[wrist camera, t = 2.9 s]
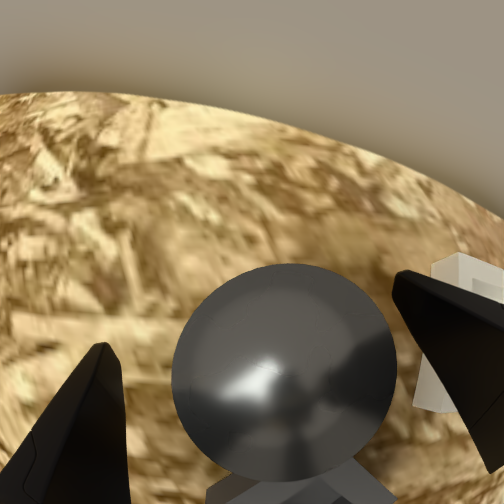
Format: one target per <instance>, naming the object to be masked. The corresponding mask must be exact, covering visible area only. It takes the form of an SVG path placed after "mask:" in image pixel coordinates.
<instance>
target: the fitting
mask: <svg viewBox="0 0 504 504" xmlns="http://www.w3.org/2000/svg"><path fill="white" fill-rule="evenodd" d="M396 378H397V359H396V350H395V345H394V341H393V337H392V334H391V332H390V329H389V326H388V324H387V322H386V320H385V318H384V316H383V314H382V313H381V311H380V310H379V309H378V307H377V306H376V304H375V303H374V302H373V301H372V300H371V298H370V297H369V296H368V295H367V294H366V293H365V292H364V291H363V290H361V289H360V288H359V287H358V286H357V285H355V284H354V283H352V282H351V281H349V280H348V279H346V278H344V277H343V276H341V275H338V274H336V273H334V272H332V271H330V270H326V269H323V268H320V267H317V266H311V265H305V264H289V263H287V264H276V265H269V266H265V267H260V268H256V269H254V270H251V271H248V272H245V273H243V274H241V275H239V276H237V277H235V278H233V279H231V280H229V281H227V282H226V283H225V284H223V285H222V286H220V287H219V288H217V289H216V290H215V291H214V292H213V293H211V294H210V295H209V296H208V297H207V298H206V299H205V300H204V301H203V302H202V303H201V304H200V305H199V307H198V308H197V309H196V310H195V311H194V313H193V314H192V316H191V317H190V319H189V320H188V322H187V323H186V325H185V327H184V329H183V331H182V333H181V336H180V338H179V340H178V343H177V347H176V350H175V353H174V358H173V364H172V383H171V385H172V393H173V400H174V403H175V407H176V410H177V414H178V416H179V418H180V421H181V423H182V425H183V427H184V429H185V431H186V432H187V434H188V435H189V437H190V438H191V440H192V441H193V442H194V443H195V445H196V446H197V447H198V448H199V449H200V450H201V451H202V452H203V453H204V454H205V455H206V456H207V457H209V458H210V459H211V460H212V461H214V462H215V463H217V464H218V465H220V466H221V467H223V468H224V469H226V470H228V471H231V472H233V473H235V474H237V475H240V476H243V477H246V478H250V479H253V480H259V481H265V482H293V481H299V480H304V479H309V478H312V477H315V476H318V475H321V474H324V473H326V472H328V471H330V470H332V469H334V468H336V467H338V466H340V465H341V464H343V463H344V462H346V461H347V460H349V459H350V458H352V457H353V456H354V455H355V454H356V453H358V452H359V451H360V450H361V449H362V448H363V447H364V446H365V445H366V444H367V443H368V442H369V441H370V439H371V438H372V437H373V435H374V434H375V433H376V431H377V430H378V429H379V427H380V425H381V423H382V422H383V420H384V418H385V416H386V414H387V412H388V409H389V407H390V405H391V401H392V398H393V394H394V391H395V384H396Z"/></svg>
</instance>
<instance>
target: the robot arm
mask: <svg viewBox="0 0 504 504" xmlns="http://www.w3.org/2000/svg"><path fill="white" fill-rule="evenodd" d="M392 299H393V301H394V303H395V305H396V307H397V308H398V310H399V312H400V314H401V316H402V318H403V319H404V321H405V323H406V325H407V327H408V329H409V331H410V333H411V334H412V336H413V338H414V339H415V341H416V343H417V344H418V346H419V347H420V349H421V350H422V352H423V353H424V355H425V357H426V358H427V360H428V361H429V363H430V365H431V366H432V368H433V369H434V371H435V373H436V374H437V376H438V378H439V379H440V381H441V383H442V384H443V386H444V388H445V390H446V391H447V393H448V395H449V396H450V398H451V400H452V402H453V403H454V405H455V407H456V409H457V411H458V412H459V414H460V416H461V418H462V420H463V422H464V424H465V425H466V427H467V429H468V431H469V433H470V435H471V437H472V439H473V441H474V443H475V445H476V447H477V449H478V451H479V454H480V456H481V458H482V460H483V462H484V464H485V466H486V469H487V471H488V472H489V474H492V473H493V472H495V471H496V470H498V469H499V468H501V467H502V466H503V465H504V304H502V303H499V302H497V301H494V300H492V299H489V298H486V297H484V296H481V295H478V294H476V293H473V292H470V291H467V290H465V289H462V288H459V287H456V286H454V285H451V284H448V283H445V282H442V281H440V280H437V279H434V278H431V277H428V276H425V275H422V274H419V273H417V272H414V271H411V270H403V271H400V272H398V273H397V274H396V275H395V279H394V284H393V289H392ZM0 504H131V497H130V488H129V477H128V464H127V445H126V413H125V403H124V393H123V383H122V370H121V364H120V361H119V359H118V358H117V356H116V355H115V353H114V351H113V350H112V348H111V346H110V345H109V344H108V343H107V342H102V343H96V344H94V345H93V346H92V347H91V348H90V350H89V351H88V352H87V354H86V355H85V356H84V357H83V359H82V360H81V361H80V363H79V364H78V365H77V366H76V368H75V369H74V370H73V372H72V373H71V374H70V376H69V377H68V378H67V380H66V381H65V382H64V384H63V385H62V386H61V388H60V389H59V390H58V392H57V393H56V395H55V396H54V397H53V399H52V400H51V401H50V403H49V404H48V406H47V407H46V409H45V410H44V411H43V413H42V414H41V416H40V417H39V419H38V420H37V421H36V423H35V424H34V426H33V427H32V429H31V431H30V432H29V433H28V435H27V436H26V438H25V439H24V441H23V442H22V443H21V445H20V446H19V448H18V449H17V451H16V452H15V454H14V455H13V456H12V458H11V459H10V460H9V462H8V463H7V464H6V466H5V467H4V468H3V470H2V471H1V472H0Z"/></svg>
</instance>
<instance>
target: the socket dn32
mask: <svg viewBox="0 0 504 504" xmlns="http://www.w3.org/2000/svg"><path fill="white" fill-rule="evenodd" d="M397 499H398V498H397V497H396V496H394V495H393V494H392V493H391V492H390V491H389V490H388V489H386V488H385V487H384V486H383V485H382V484H381V483H380V482H379V481H378V480H376V479H375V478H374V477H373V476H372V475H371V474H370V473H369V472H368V471H367V470H366V469H365V468H363V467H362V466H361V465H360V464H359V463H358V462H357V461H356V460H355V459H354V458H353V457H352V458H350V459H349V460H347V461H346V462H344V463H343V464H341V465H340V466H338V467H336V468H334V469H332V470H330V471H328V472H326V473H324V474H321V475H318V476H315V477H312V478H309V479H304V480H299V481H293V482H265V481H259V480H253V479H250V478H246V477H243V476H240V475H237V474H235V473H232V474H231V475H229V476H228V477H226V478H225V479H223V480H221V481H220V482H218V483H216V484H215V485H213V486H211V487H210V488H208V489H207V491H206V500H205V504H393V503H394V502H395V501H396V500H397Z"/></svg>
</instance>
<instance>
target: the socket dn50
mask: <svg viewBox="0 0 504 504" xmlns="http://www.w3.org/2000/svg"><path fill="white" fill-rule="evenodd" d="M431 278H434V279H437V280H440V281H442V282H445V283H448V284H451V285H454V286H456V287H459V288H462V289H465V290H467V291H470V292H473V293H476V294H478V295H481V296H484V297H486V298H489V299H492V300H494V301H497V302H499V303H502V304H504V270H503V269H501V268H498V267H496V266H494V265H491V264H489V263H486V262H484V261H481V260H479V259H476V258H474V257H471V256H469V255H466V254H464V253H461V252H457V253H454V254H452V255H450V256H448V257H446V258H444V259H441V260H439V261H437V262H435V263H432V264H431ZM412 406H414V407H418V408H422V409H426V410H429V411H433V412H437V413H451V412H458V411H457V409H456V407H455V405H454V403H453V402H452V400H451V398H450V396H449V395H448V393H447V391H446V390H445V388H444V386H443V384H442V383H441V381H440V379H439V378H438V376H437V374H436V373H435V371H434V369H433V368H432V366H431V365H430V363H429V361H428V360H427V358H426V357H425V355H424V353H423V354H422V360H421V366H420V371H419V376H418V381H417V386H416V390H415V395H414V399H413V403H412Z"/></svg>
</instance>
